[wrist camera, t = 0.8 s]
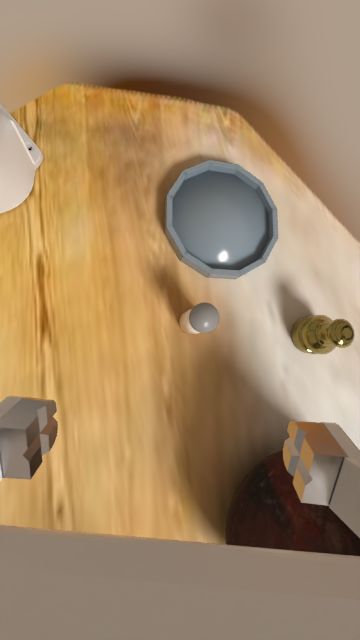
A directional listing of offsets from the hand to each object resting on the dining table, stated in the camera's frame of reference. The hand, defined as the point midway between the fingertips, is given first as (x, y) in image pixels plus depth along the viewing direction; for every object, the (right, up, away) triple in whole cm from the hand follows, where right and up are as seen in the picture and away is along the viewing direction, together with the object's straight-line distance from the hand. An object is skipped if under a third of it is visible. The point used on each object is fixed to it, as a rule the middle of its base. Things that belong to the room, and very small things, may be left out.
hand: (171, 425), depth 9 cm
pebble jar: (+2, +3, +40) cm, 40 cm away
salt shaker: (+26, +1, +45) cm, 52 cm away
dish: (+8, +23, +43) cm, 49 cm away
